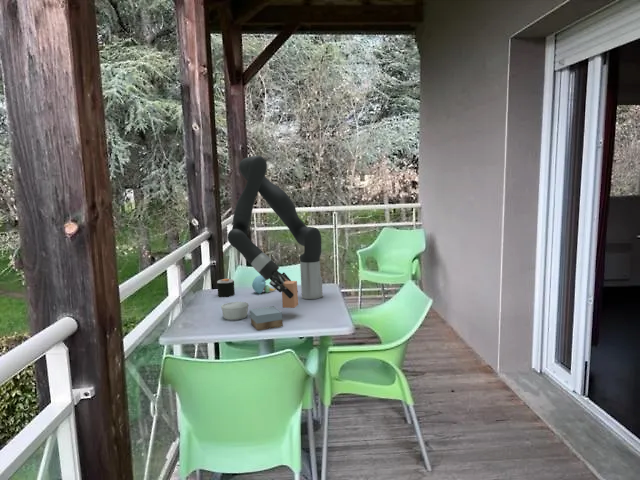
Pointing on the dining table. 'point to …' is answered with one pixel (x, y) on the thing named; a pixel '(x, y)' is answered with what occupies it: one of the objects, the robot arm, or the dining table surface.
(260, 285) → the toy flower bud
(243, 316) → the ramekin
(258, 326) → the walnut base slab
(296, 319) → the dining table surface
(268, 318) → the slate top slab
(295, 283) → the terracotta block
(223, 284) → the sushi
